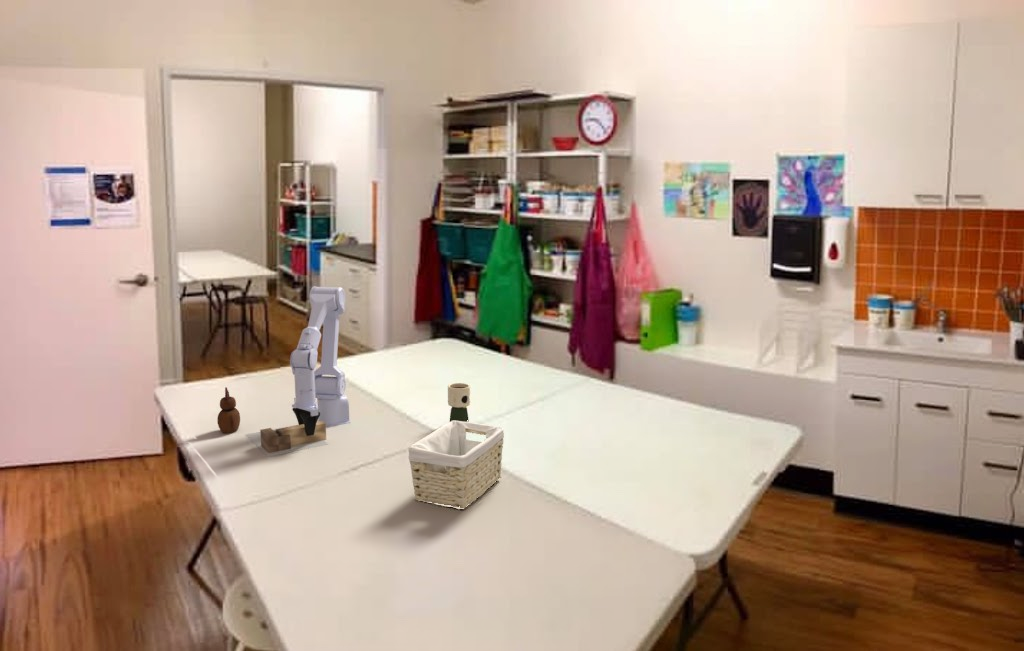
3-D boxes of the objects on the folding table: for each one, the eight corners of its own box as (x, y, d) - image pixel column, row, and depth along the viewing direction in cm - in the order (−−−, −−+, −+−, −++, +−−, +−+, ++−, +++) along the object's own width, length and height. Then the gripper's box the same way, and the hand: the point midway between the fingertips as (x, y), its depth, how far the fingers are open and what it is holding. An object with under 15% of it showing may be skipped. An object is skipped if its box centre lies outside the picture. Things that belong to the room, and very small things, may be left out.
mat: (302, 425, 252) (302, 424, 252) (328, 445, 235) (328, 444, 235) (245, 435, 242) (245, 434, 242) (268, 457, 225) (268, 456, 225)
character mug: (461, 431, 248) (461, 391, 245) (441, 428, 250) (440, 388, 248) (476, 421, 258) (476, 382, 255) (456, 418, 260) (456, 380, 258)
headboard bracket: (283, 441, 236) (282, 425, 235) (291, 448, 231) (290, 432, 230) (261, 445, 233) (260, 429, 232) (268, 453, 227) (267, 436, 226)
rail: (322, 436, 241) (321, 420, 240) (326, 439, 239) (325, 423, 238) (277, 445, 233) (276, 429, 232) (280, 448, 231) (279, 431, 230)
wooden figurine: (232, 436, 242) (229, 389, 239) (215, 435, 243) (211, 388, 240) (244, 429, 248) (241, 383, 245) (227, 428, 249) (224, 382, 246)
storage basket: (463, 515, 189) (463, 456, 186) (406, 502, 196) (404, 446, 193) (506, 479, 211) (506, 426, 208) (453, 469, 217) (452, 418, 214)
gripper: (283, 385, 237) (285, 428, 240) (300, 397, 226) (302, 442, 229) (306, 381, 241) (308, 424, 244) (324, 393, 230) (326, 437, 232)
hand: (307, 432), depth 237 cm, fingers open, 4 cm apart
